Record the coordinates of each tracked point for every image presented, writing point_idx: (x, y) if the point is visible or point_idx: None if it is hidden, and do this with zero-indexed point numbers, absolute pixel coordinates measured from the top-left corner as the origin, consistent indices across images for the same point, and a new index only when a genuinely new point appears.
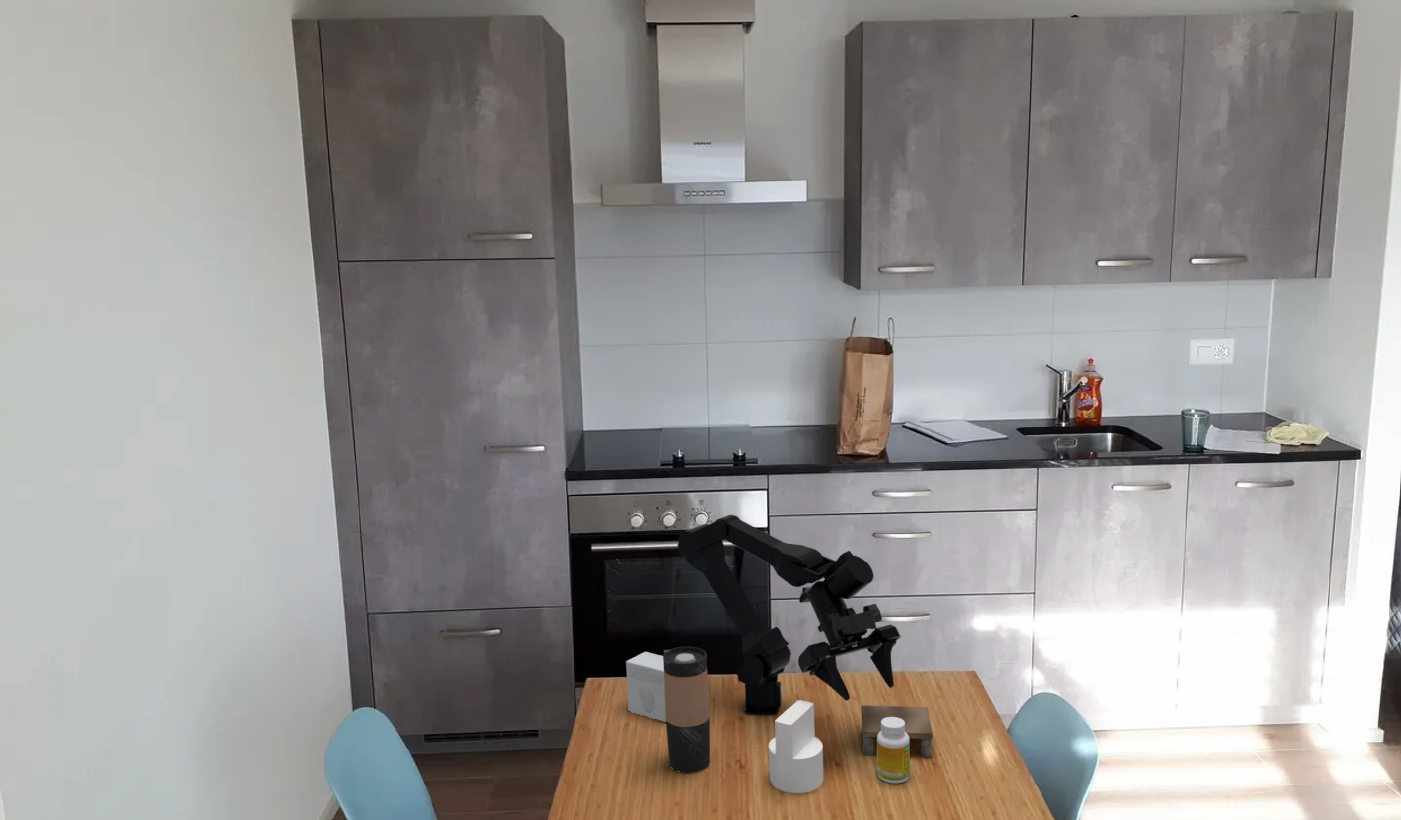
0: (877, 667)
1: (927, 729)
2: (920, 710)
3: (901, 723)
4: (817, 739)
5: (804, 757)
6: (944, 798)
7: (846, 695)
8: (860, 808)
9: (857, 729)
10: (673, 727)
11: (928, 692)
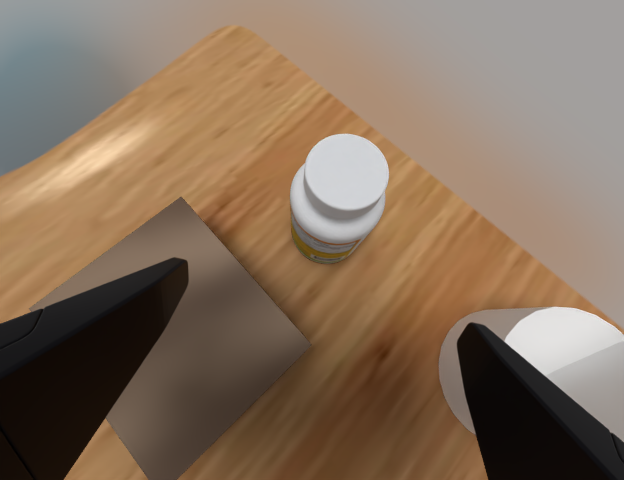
0: (72, 453)
1: (169, 219)
2: None
3: (332, 146)
4: None
5: (592, 319)
6: (316, 122)
7: (497, 336)
8: (459, 201)
9: (205, 457)
10: None
11: None
